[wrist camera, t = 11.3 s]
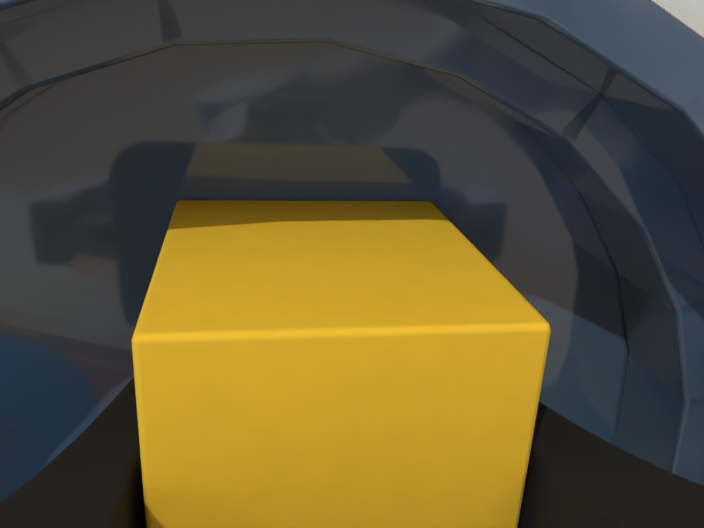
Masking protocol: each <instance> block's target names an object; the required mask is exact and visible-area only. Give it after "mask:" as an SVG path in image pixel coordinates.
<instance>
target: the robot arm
mask: <svg viewBox="0 0 704 528" xmlns="http://www.w3.org/2000/svg"><path fill="white" fill-rule="evenodd" d="M0 528H146V521H145V508H144V495H143V483H142V470H141V457H140V444H139V432H138V419H137V406H136V393H135V381H134V377H133V378H132V379H131V380H130V381H129V383H128V384H127V385H126V386H125V387H124V388H123V389H122V390H121V392H120V393H119V394H118V395H117V396H116V397H115V398H114V399H113V400H112V402H111V403H110V404H109V405H108V406H107V407H106V408H105V409H104V410H103V411H102V412H101V413H100V414H99V415H98V416H97V417H96V418H95V420H94V421H93V422H92V423H91V424H90V425H89V426H88V427H87V428H86V429H85V430H84V431H83V432H82V433H81V434H80V435H79V436H78V437H77V438H76V439H75V440H74V441H73V442H72V443H71V444H70V445H68V446H67V447H66V448H65V449H64V450H63V451H62V452H61V453H60V454H59V455H57V456H56V457H55V458H54V459H53V460H52V461H51V462H50V463H49V464H48V465H46V466H45V467H44V468H43V469H42V470H41V471H40V472H39V473H37V474H36V475H35V476H34V477H33V478H31V479H30V480H29V481H28V482H26V483H25V484H24V485H23V486H21V487H20V488H19V489H17V490H16V491H15V492H13V493H12V494H11V495H9V496H8V497H7V498H5V499H4V500H3V501H1V502H0ZM518 528H704V486H703V485H700V484H698V483H695V482H693V481H690V480H688V479H685V478H683V477H680V476H678V475H676V474H673V473H671V472H669V471H666V470H664V469H662V468H660V467H658V466H656V465H653V464H651V463H649V462H647V461H645V460H643V459H641V458H639V457H637V456H634V455H632V454H630V453H628V452H626V451H624V450H622V449H620V448H618V447H616V446H614V445H612V444H610V443H609V442H607V441H605V440H603V439H601V438H600V437H598V436H596V435H594V434H592V433H591V432H589V431H587V430H585V429H584V428H582V427H580V426H578V425H576V424H575V423H573V422H571V421H570V420H568V419H566V418H565V417H563V416H561V415H560V414H558V413H557V412H555V411H553V410H552V409H550V408H548V407H547V406H545V405H544V404H542V403H541V402H539V404H538V410H537V415H536V421H535V427H534V433H533V439H532V445H531V451H530V457H529V463H528V469H527V475H526V480H525V486H524V492H523V498H522V504H521V510H520V516H519V522H518Z"/></svg>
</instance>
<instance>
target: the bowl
mask: <svg viewBox="0 0 704 528" xmlns="http://www.w3.org/2000/svg"><path fill="white" fill-rule="evenodd" d="M180 200H248V201H429V202H432V203H433V204H434V205H435V206H436V207H437V208H438V209H439V210H440V211H441V212H442V213H443V214H444V215H445V216H446V217H447V219H448V220H449V221H450V222H451V223H452V224H453V225H454V226H455V227H456V228H457V229H458V230H459V231H460V232H461V233H462V234H463V235H464V236H465V237H466V238H467V239H468V240H469V241H470V242H471V243H472V244H473V245H474V246H475V247H476V248H477V249H478V250H479V251H480V253H481V254H482V255H483V256H484V257H485V258H486V259H487V260H488V261H489V262H490V263H491V264H492V265H493V266H494V267H495V268H496V269H497V270H498V271H499V272H500V273H501V274H502V275H503V276H504V277H505V278H506V279H507V280H508V281H509V282H510V283H511V284H512V285H513V287H514V288H515V289H516V290H517V291H518V292H519V293H520V294H521V295H522V296H523V297H524V298H525V299H526V300H527V301H528V302H529V303H530V304H531V305H532V306H533V307H534V308H535V309H536V310H537V311H538V312H539V313H540V314H541V315H542V316H543V317H544V318H545V319H546V321H547V322H548V323H549V325H550V328H551V333H550V339H549V345H548V350H547V356H546V362H545V368H544V374H543V380H542V386H541V392H540V398H539V402H541V403H542V404H544V405H545V406H547V407H548V408H550V409H552V410H553V411H555V412H557V413H558V414H560V415H561V416H563V417H565V418H566V419H568V420H570V421H571V422H573V423H575V424H576V425H578V426H580V427H582V428H584V429H585V430H587V431H589V432H591V433H592V434H594V435H596V436H598V437H600V438H601V439H603V440H605V441H607V442H609V443H610V444H612V445H614V446H616V447H618V448H620V449H622V450H624V451H626V452H628V453H630V454H632V455H634V456H637V457H639V458H641V459H643V460H645V461H647V462H649V463H651V464H653V465H656V466H658V467H660V468H662V469H664V470H666V471H669V472H671V473H673V474H676V475H678V476H680V477H683V478H685V479H688V480H690V481H693V482H695V483H698V484H700V485H703V486H704V37H703V36H701V35H700V34H698V33H697V32H696V31H694V30H693V29H692V28H690V27H689V26H687V25H686V24H685V23H683V22H682V21H680V20H679V19H678V18H676V17H675V16H673V15H672V14H671V13H669V12H668V11H666V10H665V9H664V8H662V7H661V6H660V5H658V4H657V3H655V2H654V1H653V0H0V502H1V501H3V500H4V499H5V498H7V497H8V496H9V495H11V494H12V493H13V492H15V491H16V490H17V489H19V488H20V487H21V486H23V485H24V484H25V483H26V482H28V481H29V480H30V479H31V478H33V477H34V476H35V475H36V474H37V473H39V472H40V471H41V470H42V469H43V468H44V467H45V466H46V465H48V464H49V463H50V462H51V461H52V460H53V459H54V458H55V457H56V456H57V455H59V454H60V453H61V452H62V451H63V450H64V449H65V448H66V447H67V446H68V445H70V444H71V443H72V442H73V441H74V440H75V439H76V438H77V437H78V436H79V435H80V434H81V433H82V432H83V431H84V430H85V429H86V428H87V427H88V426H89V425H90V424H91V423H92V422H93V421H94V420H95V418H96V417H97V416H98V415H99V414H100V413H101V412H102V411H103V410H104V409H105V408H106V407H107V406H108V405H109V404H110V403H111V402H112V400H113V399H114V398H115V397H116V396H117V395H118V394H119V393H120V392H121V390H122V389H123V388H124V387H125V386H126V385H127V384H128V383H129V381H130V380H131V379H132V378H133V377H134V368H133V355H132V342H131V340H132V337H133V334H134V331H135V328H136V325H137V322H138V319H139V315H140V312H141V309H142V306H143V303H144V300H145V297H146V294H147V291H148V288H149V285H150V282H151V279H152V276H153V273H154V270H155V267H156V264H157V260H158V257H159V254H160V251H161V248H162V245H163V242H164V239H165V236H166V233H167V230H168V227H169V224H170V221H171V218H172V215H173V212H174V208H175V205H176V203H177V202H178V201H180Z"/></svg>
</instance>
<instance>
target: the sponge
mask: <svg viewBox="0 0 704 528" xmlns="http://www.w3.org/2000/svg"><path fill="white" fill-rule="evenodd" d="M550 333H551V328H550V325H549V323H548V322H547V321H546V319H545V318H544V317H543V316H542V315H541V314H540V313H539V312H538V311H537V310H536V309H535V308H534V307H533V306H532V305H531V304H530V303H529V302H528V301H527V300H526V299H525V298H524V297H523V296H522V295H521V294H520V293H519V292H518V291H517V290H516V289H515V288H514V287H513V285H512V284H511V283H510V282H509V281H508V280H507V279H506V278H505V277H504V276H503V275H502V274H501V273H500V272H499V271H498V270H497V269H496V268H495V267H494V266H493V265H492V264H491V263H490V262H489V261H488V260H487V259H486V258H485V257H484V256H483V255H482V254H481V253H480V251H479V250H478V249H477V248H476V247H475V246H474V245H473V244H472V243H471V242H470V241H469V240H468V239H467V238H466V237H465V236H464V235H463V234H462V233H461V232H460V231H459V230H458V229H457V228H456V227H455V226H454V225H453V224H452V223H451V222H450V221H449V220H448V219H447V217H446V216H445V215H444V214H443V213H442V212H441V211H440V210H439V209H438V208H437V207H436V206H435V205H434V204H433V203H432V202H429V201H248V200H180V201H178V202H177V203H176V205H175V208H174V212H173V215H172V218H171V221H170V224H169V227H168V230H167V233H166V236H165V239H164V242H163V245H162V248H161V251H160V254H159V257H158V260H157V264H156V267H155V270H154V273H153V276H152V279H151V282H150V285H149V288H148V291H147V294H146V297H145V300H144V303H143V306H142V309H141V312H140V315H139V319H138V322H137V325H136V328H135V331H134V334H133V337H132V340H131V342H132V355H133V368H134V381H135V393H136V406H137V419H138V432H139V444H140V457H141V470H142V483H143V495H144V508H145V521H146V528H518V522H519V516H520V510H521V504H522V498H523V492H524V486H525V480H526V475H527V469H528V463H529V457H530V451H531V445H532V439H533V433H534V427H535V421H536V415H537V410H538V404H539V398H540V392H541V386H542V380H543V374H544V368H545V362H546V356H547V350H548V345H549V339H550Z"/></svg>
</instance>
